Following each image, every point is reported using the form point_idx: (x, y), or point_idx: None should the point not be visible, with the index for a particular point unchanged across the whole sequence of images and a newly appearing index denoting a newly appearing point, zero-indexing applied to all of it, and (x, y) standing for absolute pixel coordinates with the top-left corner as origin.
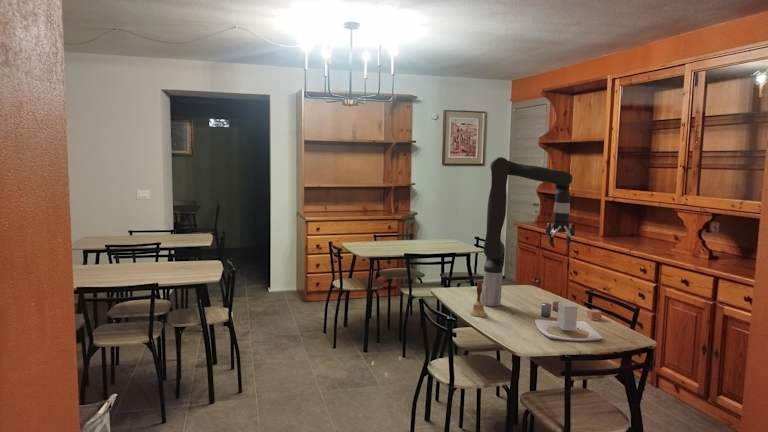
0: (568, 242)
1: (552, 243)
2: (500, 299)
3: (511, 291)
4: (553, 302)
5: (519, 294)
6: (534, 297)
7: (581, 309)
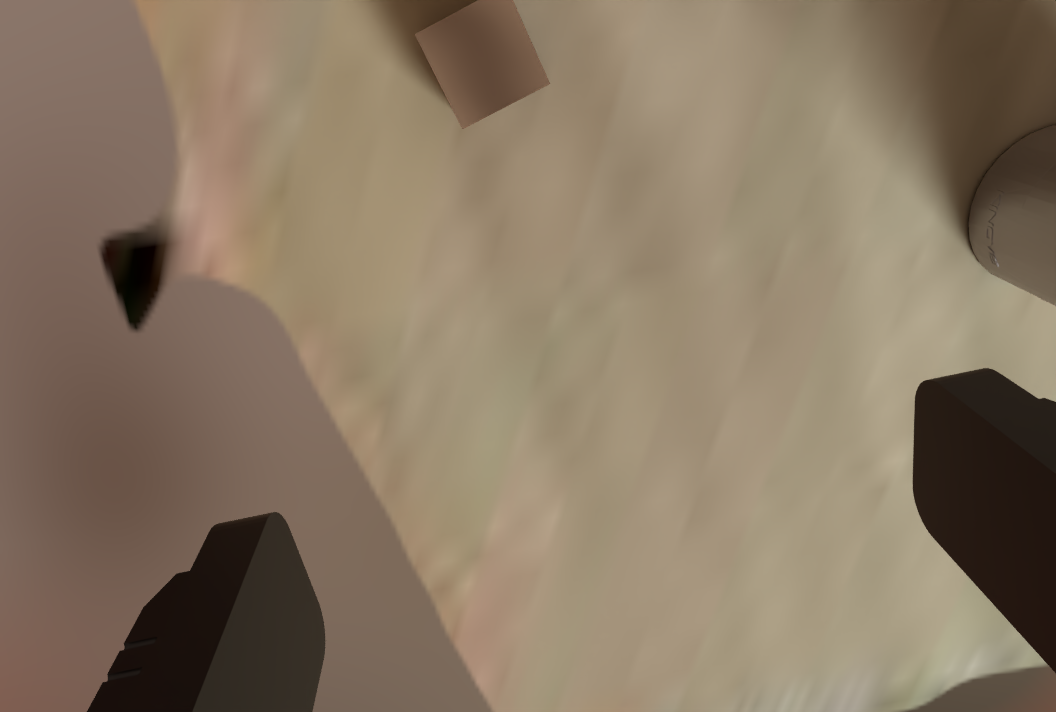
0: (233, 556)
1: (972, 373)
2: (1027, 179)
3: (716, 613)
4: (545, 76)
5: (680, 544)
6: (581, 480)
7: (237, 156)
